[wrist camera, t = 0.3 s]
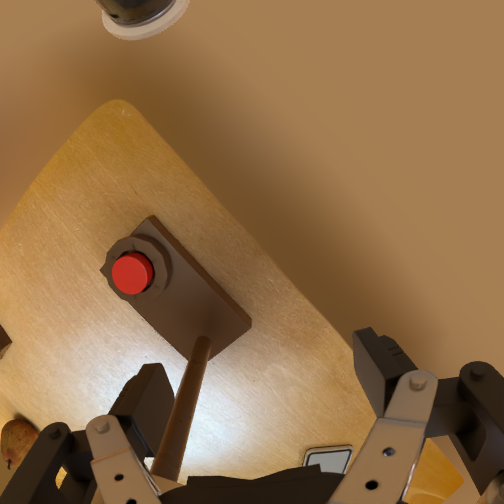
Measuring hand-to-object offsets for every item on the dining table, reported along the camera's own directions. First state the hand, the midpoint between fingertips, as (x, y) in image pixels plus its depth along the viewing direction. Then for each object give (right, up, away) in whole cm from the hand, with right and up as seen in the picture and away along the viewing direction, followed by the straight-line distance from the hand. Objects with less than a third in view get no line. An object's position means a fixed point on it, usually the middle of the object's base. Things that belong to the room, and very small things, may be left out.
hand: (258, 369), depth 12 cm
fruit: (-43, -30, +27) cm, 59 cm away
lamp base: (-8, 0, +20) cm, 22 cm away
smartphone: (+11, -31, +27) cm, 42 cm away
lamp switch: (-11, +3, +16) cm, 20 cm away
